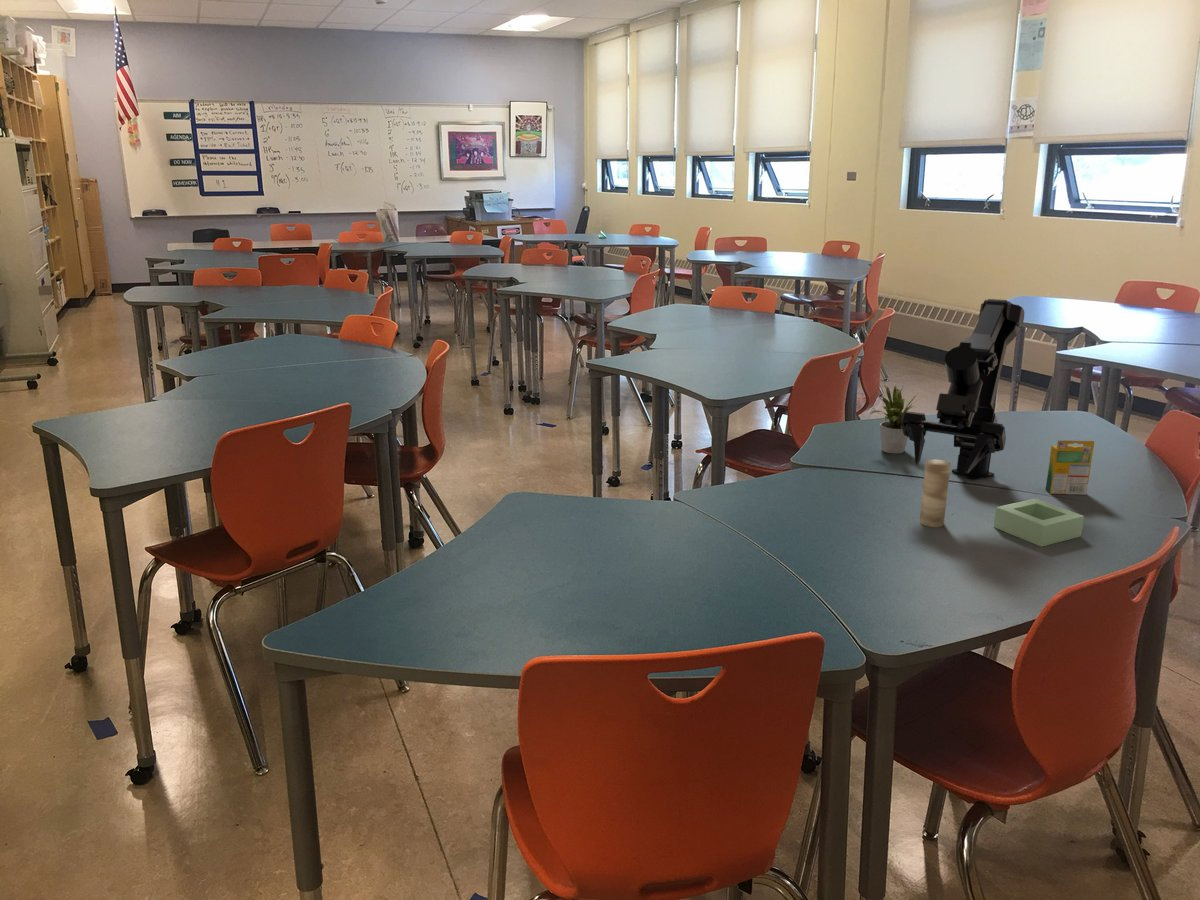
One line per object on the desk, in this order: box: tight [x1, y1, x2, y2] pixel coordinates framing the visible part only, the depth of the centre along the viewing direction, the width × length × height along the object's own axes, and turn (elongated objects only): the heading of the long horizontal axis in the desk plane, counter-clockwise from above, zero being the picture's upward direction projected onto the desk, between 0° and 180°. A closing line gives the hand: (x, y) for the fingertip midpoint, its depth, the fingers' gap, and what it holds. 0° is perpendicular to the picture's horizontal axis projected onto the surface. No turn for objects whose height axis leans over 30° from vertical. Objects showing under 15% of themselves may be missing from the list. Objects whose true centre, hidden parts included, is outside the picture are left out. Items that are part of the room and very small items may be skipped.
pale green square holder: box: [993, 498, 1085, 547], centre depth 167 cm, size 10×10×4 cm
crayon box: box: [1045, 440, 1095, 496], centre depth 186 cm, size 7×3×12 cm, turn 84°
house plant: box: [866, 383, 926, 454], centre depth 215 cm, size 14×14×16 cm
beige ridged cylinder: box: [918, 458, 952, 528], centre depth 170 cm, size 4×4×12 cm
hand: (941, 468), depth 171 cm, fingers open, 9 cm apart
